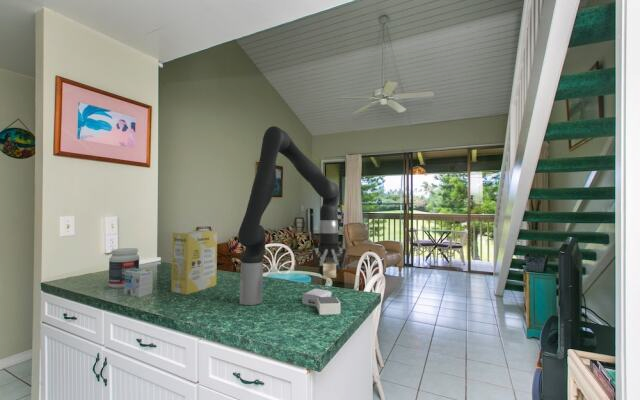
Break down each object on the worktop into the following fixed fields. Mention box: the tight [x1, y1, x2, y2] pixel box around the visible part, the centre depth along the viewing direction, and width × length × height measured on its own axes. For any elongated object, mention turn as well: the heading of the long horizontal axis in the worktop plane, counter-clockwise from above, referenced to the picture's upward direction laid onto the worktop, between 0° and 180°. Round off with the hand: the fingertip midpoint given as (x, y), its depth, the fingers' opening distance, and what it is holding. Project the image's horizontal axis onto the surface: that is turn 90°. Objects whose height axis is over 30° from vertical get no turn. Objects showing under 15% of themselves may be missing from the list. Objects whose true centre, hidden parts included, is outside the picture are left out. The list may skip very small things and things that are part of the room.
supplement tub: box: [108, 247, 140, 289], centre depth 151 cm, size 13×13×18 cm
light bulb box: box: [123, 268, 154, 298], centre depth 137 cm, size 11×7×11 cm, turn 68°
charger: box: [301, 288, 333, 308], centre depth 129 cm, size 5×9×15 cm
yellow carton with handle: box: [170, 229, 218, 295], centre depth 147 cm, size 18×10×28 cm, turn 155°
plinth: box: [316, 296, 341, 316], centre depth 116 cm, size 8×8×4 cm
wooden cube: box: [321, 261, 337, 279], centre depth 116 cm, size 5×5×5 cm
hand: (328, 274), depth 116 cm, fingers closed on wooden cube, 5 cm apart
